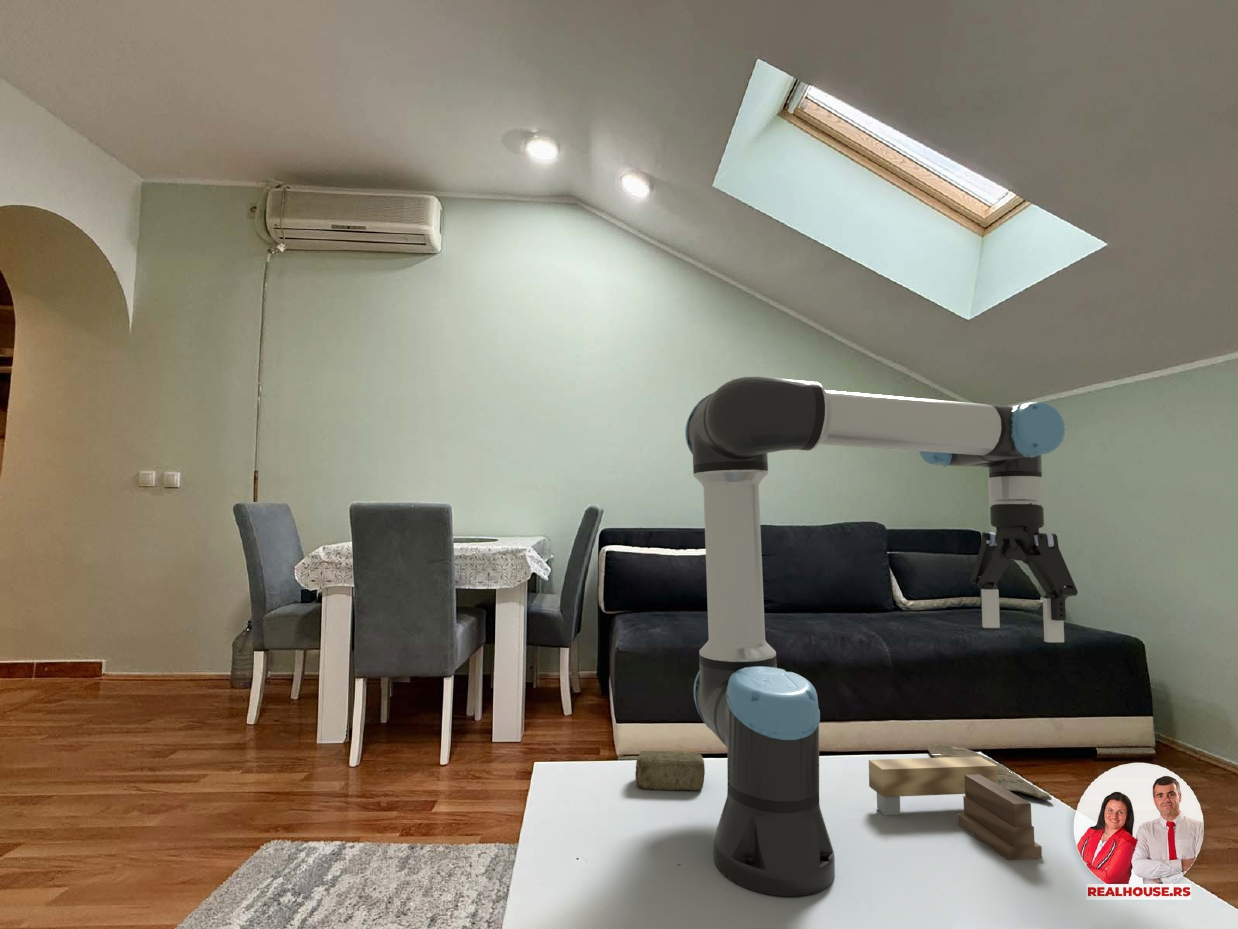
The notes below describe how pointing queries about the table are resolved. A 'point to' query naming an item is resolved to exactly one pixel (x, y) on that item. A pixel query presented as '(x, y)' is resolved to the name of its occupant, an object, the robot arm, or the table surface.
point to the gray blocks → (888, 805)
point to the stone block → (670, 770)
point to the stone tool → (1004, 776)
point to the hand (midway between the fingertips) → (1020, 634)
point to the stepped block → (998, 819)
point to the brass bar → (927, 775)
